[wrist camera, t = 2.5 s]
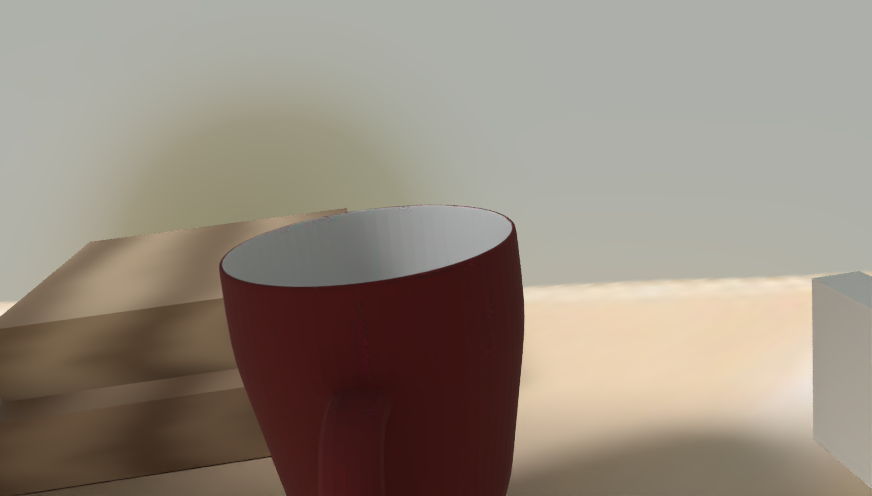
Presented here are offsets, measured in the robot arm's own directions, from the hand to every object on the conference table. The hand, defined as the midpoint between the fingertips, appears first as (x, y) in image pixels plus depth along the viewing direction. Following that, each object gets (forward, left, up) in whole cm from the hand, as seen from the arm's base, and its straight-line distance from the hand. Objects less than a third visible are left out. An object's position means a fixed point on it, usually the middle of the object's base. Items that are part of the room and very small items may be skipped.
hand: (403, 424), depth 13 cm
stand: (-8, +27, -10) cm, 30 cm away
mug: (0, +9, -10) cm, 14 cm away
